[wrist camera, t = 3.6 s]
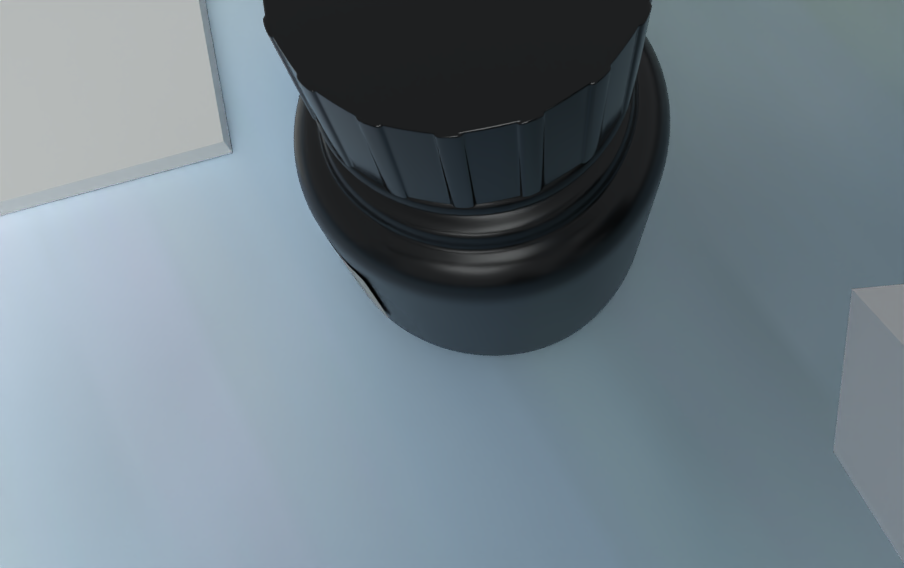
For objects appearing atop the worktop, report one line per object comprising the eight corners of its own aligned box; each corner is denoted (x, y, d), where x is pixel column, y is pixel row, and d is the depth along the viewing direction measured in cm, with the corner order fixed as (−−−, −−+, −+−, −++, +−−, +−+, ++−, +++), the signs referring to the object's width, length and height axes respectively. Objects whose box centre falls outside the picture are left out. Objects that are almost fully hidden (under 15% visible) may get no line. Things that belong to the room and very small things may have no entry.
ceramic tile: (177, -152, 31) (168, -170, 30) (232, 152, 27) (223, 141, 26) (-155, -60, 31) (-172, -75, 30) (-150, 256, 27) (-170, 248, 26)
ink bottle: (409, 50, 27) (317, -302, 16) (675, 115, 26) (786, -225, 14) (302, 324, 25) (102, 141, 13) (588, 414, 23) (637, 294, 12)
